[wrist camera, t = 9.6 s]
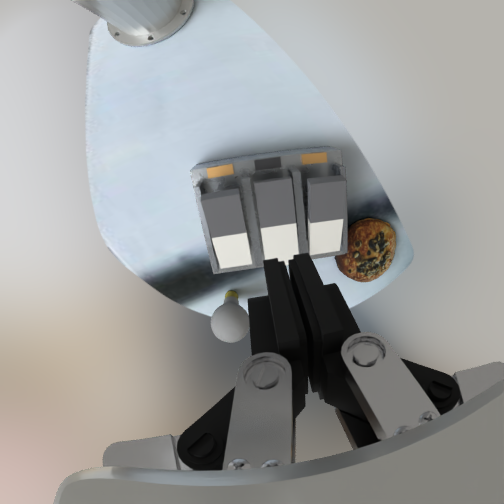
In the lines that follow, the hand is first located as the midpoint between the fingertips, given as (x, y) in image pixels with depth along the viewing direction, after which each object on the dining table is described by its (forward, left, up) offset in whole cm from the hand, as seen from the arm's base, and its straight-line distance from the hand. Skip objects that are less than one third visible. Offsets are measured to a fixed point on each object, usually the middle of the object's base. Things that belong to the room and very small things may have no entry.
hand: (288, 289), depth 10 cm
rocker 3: (+5, +7, -20) cm, 22 cm away
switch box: (+5, +1, -28) cm, 29 cm away
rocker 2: (+5, +1, -20) cm, 21 cm away
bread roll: (+15, +16, -29) cm, 36 cm away
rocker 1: (+5, -4, -20) cm, 21 cm away
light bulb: (+19, -7, -28) cm, 35 cm away
